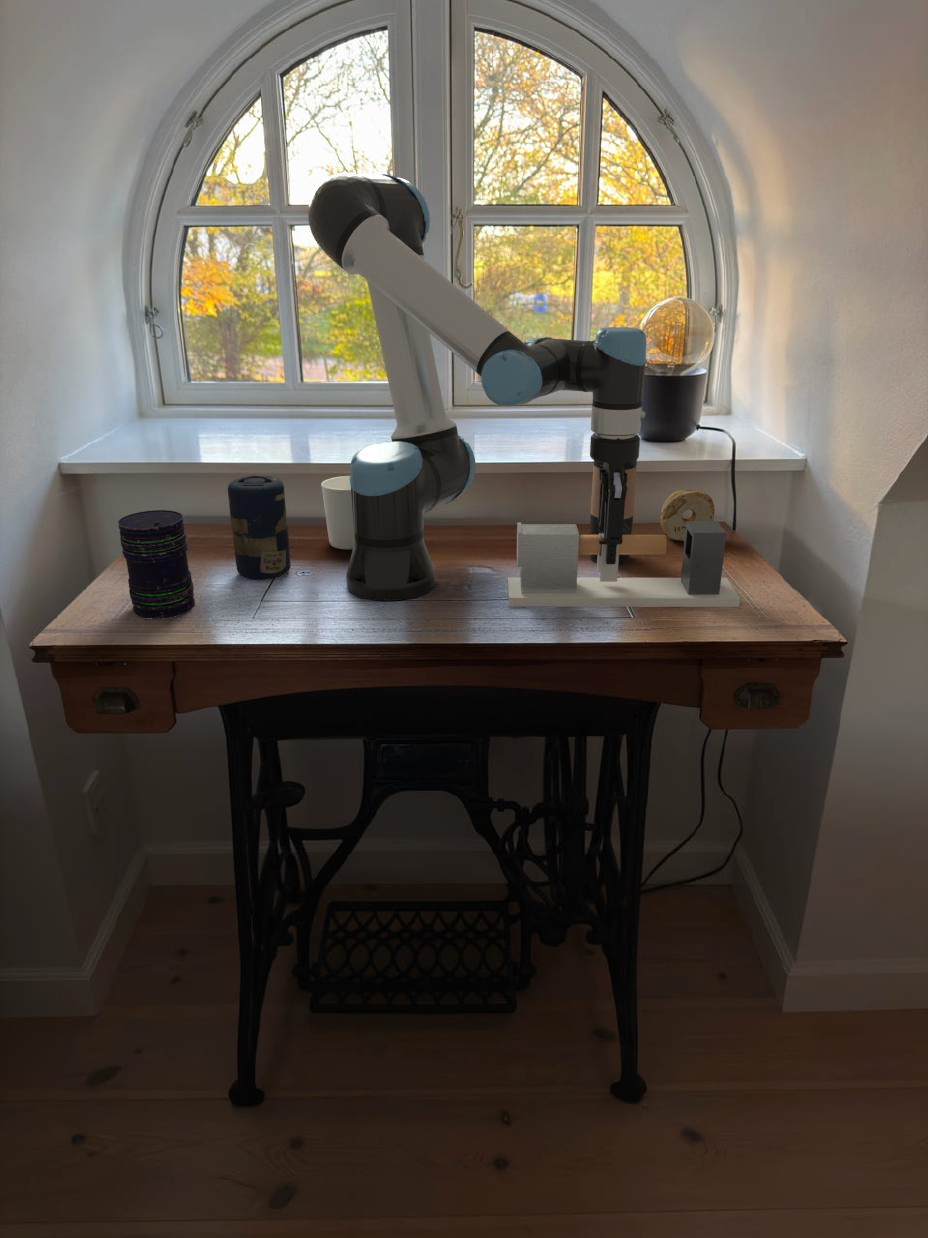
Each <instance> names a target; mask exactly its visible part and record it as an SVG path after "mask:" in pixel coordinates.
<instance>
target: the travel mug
mask: <svg viewBox="0 0 928 1238" xmlns="http://www.w3.org/2000/svg"><path fill="white" fill-rule="evenodd" d="M637 463H638V459H637V460H636V461H634V462H631V463H629V462H628V463H626V464H624V466H623V467H624V469H625V473H627V484H626V485H627V491H626V498H625V509H624V522H623V535H633V534H632V531H633V522H634V521H633V520H634V515H635V514H634V512H635V511H634V510H635V496H636V481H637V480H636V478H637ZM603 464H604V462H603V463H601V462H598V461H595V460H593V470H592V485H591V486H592V487H591V500H590V501H591V502H590V527H589V528H590V529H589V535H599V533H602V532H599V525H598V523H597V520H598V512H599V486H600V478H599V468H600V465H603ZM589 559H590V560H591V562H594V563H596V564H597V559H598V555H589ZM629 559H630V555H619V561H618V566H619V565H623V564H626V563H628V562H629Z"/></svg>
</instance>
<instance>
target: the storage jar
mask: <svg viewBox="0 0 928 1238" xmlns="http://www.w3.org/2000/svg"><path fill="white" fill-rule="evenodd" d="M117 524H118V529H119V535H120V536H119V537H120V538H119V539H120V545H121V547H122V548H121V549H122V552H121V553H122V554H123V558H124V559H125V562H126V568H127V573H128V579H127V581H128V587H129V589H128V592H129V597H130V599H131V603H132V605H133V607H132V610H133V614H134V613H135V614H136V615H137V616H136V615H135V614H134V615H135V616H136V617H138V616H140V617H139V618H141V617H142V619H145V618H150V619H149V620H162V619H161V618H166V619H170V617H172V618H175V617H174V616H176V617H179V616H181V615H180V614H182V615H184V614H183V613H185V614H186V612H187V613H189V612H190V611H192V610H193V609H194V608H195V606H196V601H195V599H194V595H195V592H194V588H195V587H194V583H193V579H192V572H191V571H190V567H189V561H188V555H187V552H188V542H187V532H186V529H185V524H184V516H183V514H182V513H180V512H177V511H175V510H167V509H159V510H157V509H156V510H147V511H146V510H145V511H138V512H134V513H130V514H128V515H125V516H123V517H121V518H120V519H119V520H118V522H117ZM193 607H194V608H193ZM192 608H193V609H192ZM191 609H192V610H191ZM188 611H189V612H188ZM178 615H179V616H178ZM151 618H152V619H151ZM159 618H160V619H159Z"/></svg>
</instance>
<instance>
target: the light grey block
mask: <svg viewBox="0 0 928 1238" xmlns="http://www.w3.org/2000/svg"><path fill="white" fill-rule="evenodd" d="M516 525H517V527H516V564H517V568H519V578H520V589H521V593H534V594H576V590H577V578H578V569H579V568H578V565H579V564H578V562H579V555H578V547H579V535H580V533H579V529H578V527H577V524H576V523H573V524H571V523H569V524H568V523H567V524H565V523H564V524H563V523H559V524H558V523H554V524H553V523H551V524H550V523H549V524H548V523H547V524H545V523H544V524H543V523H541V524H539V523H538V524H537V523H534V524H532V523H529V524H528V523H525V524H523V523H522V522H517V523H516Z"/></svg>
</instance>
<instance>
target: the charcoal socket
mask: <svg viewBox="0 0 928 1238" xmlns="http://www.w3.org/2000/svg"><path fill="white" fill-rule="evenodd" d="M726 540H727V531H726V530H725V529H724V527H722V525H721V524H720V522H719V520H714V521H687V522H686V532H685V541H683V553H682V554H683V555H682V565H681V574H680V578H681V582H682V584H683V586H684V588H685V590H686V592H687V594H688V595H719V592H720V584H721V578H722V574H723V568H724V567H723V565H724V559H725V558H724V556H725V550H726V549H725V547H726Z"/></svg>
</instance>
